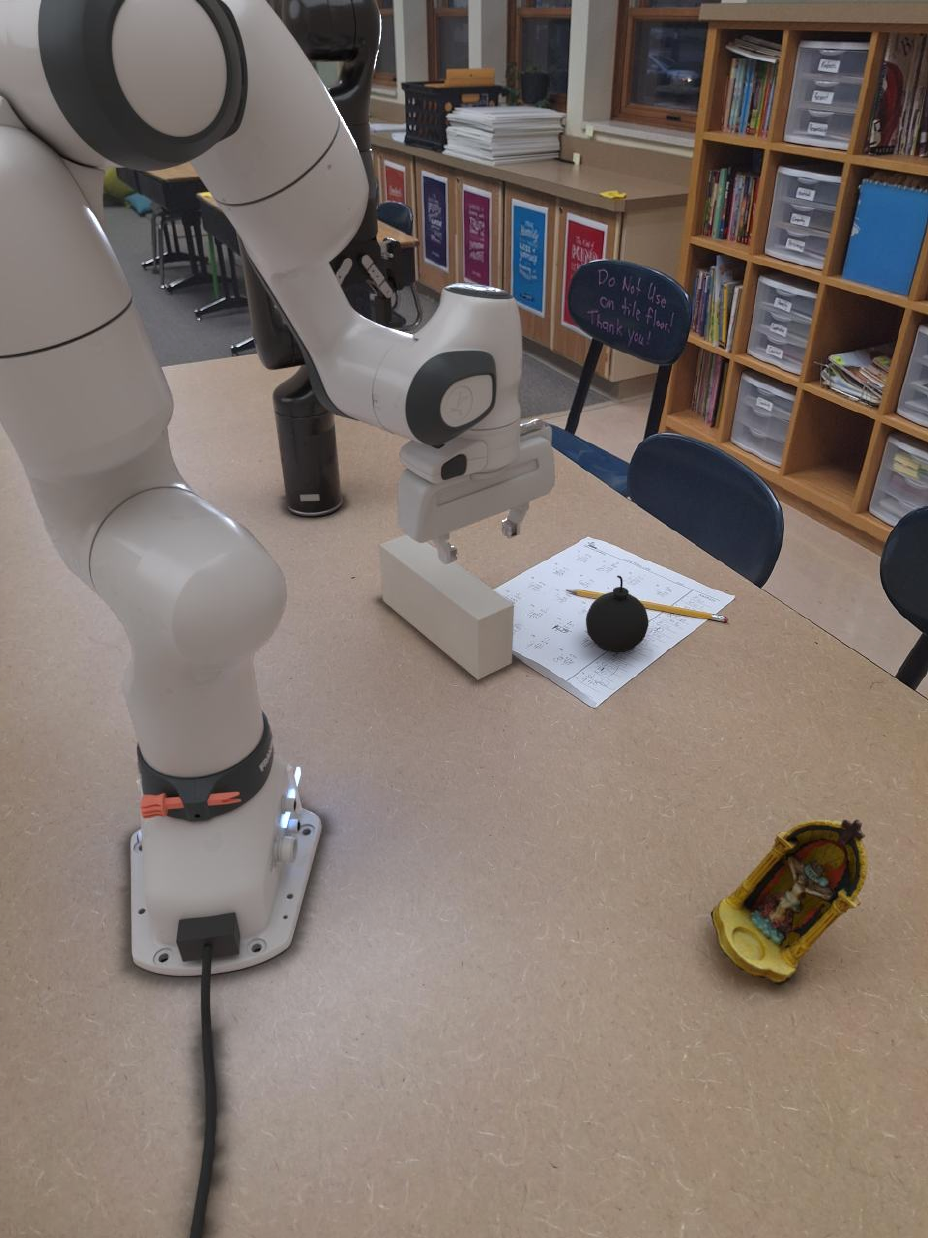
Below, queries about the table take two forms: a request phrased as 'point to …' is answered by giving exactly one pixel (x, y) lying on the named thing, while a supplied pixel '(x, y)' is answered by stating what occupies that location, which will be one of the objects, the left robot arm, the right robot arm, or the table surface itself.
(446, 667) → the table surface
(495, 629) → the bar
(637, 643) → the bomb
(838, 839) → the shrine
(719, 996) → the table surface
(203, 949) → the left robot arm
